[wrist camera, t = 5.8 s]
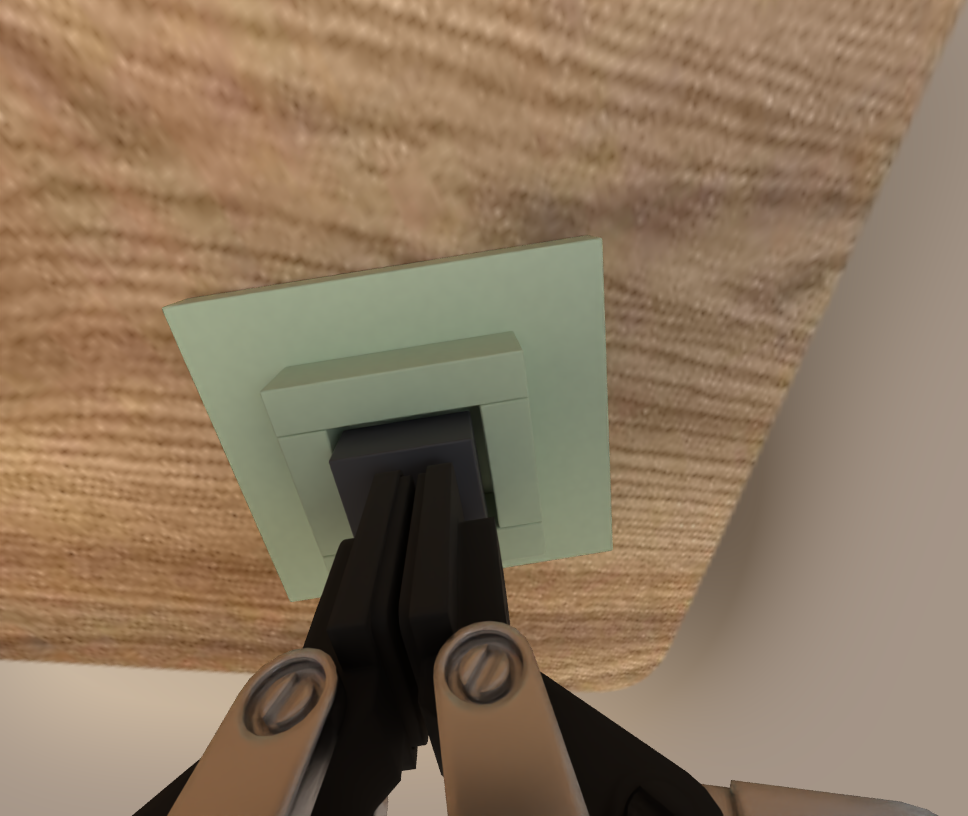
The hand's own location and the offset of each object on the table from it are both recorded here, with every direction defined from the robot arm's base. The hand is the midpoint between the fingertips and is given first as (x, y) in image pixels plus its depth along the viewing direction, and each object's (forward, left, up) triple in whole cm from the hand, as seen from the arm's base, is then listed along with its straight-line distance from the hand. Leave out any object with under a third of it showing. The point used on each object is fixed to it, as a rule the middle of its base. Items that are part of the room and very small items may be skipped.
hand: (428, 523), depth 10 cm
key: (0, 0, -2) cm, 2 cm away
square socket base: (0, 0, -5) cm, 5 cm away
